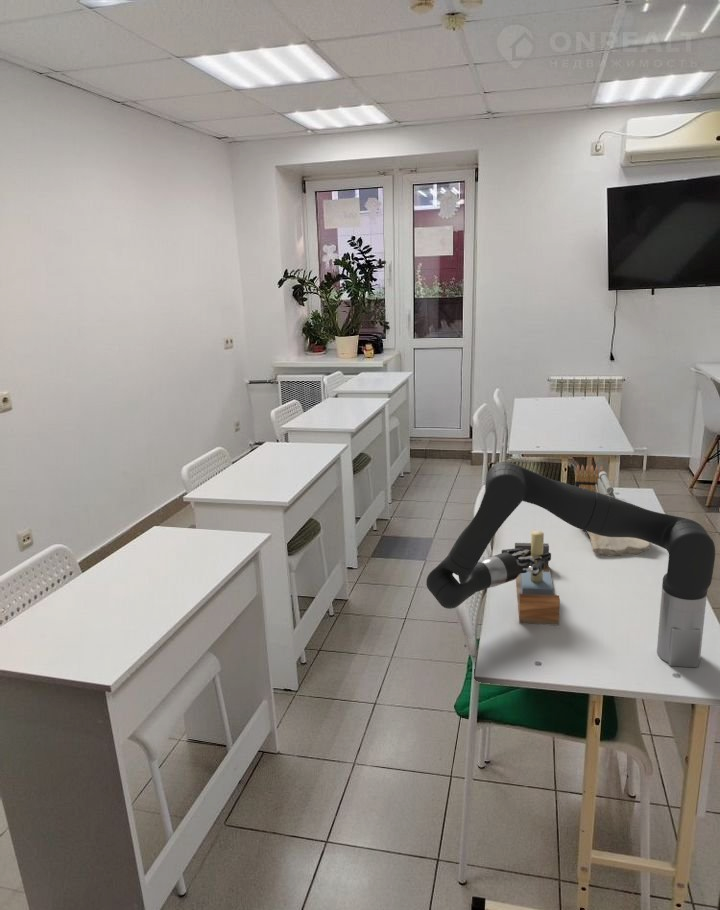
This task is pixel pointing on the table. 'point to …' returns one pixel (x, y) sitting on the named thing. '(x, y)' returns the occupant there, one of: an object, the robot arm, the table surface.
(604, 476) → the geiger counter
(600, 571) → the table surface
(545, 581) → the carriage
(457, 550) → the robot arm
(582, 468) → the ammunition clip
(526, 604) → the rail
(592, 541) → the beige bone fragment
